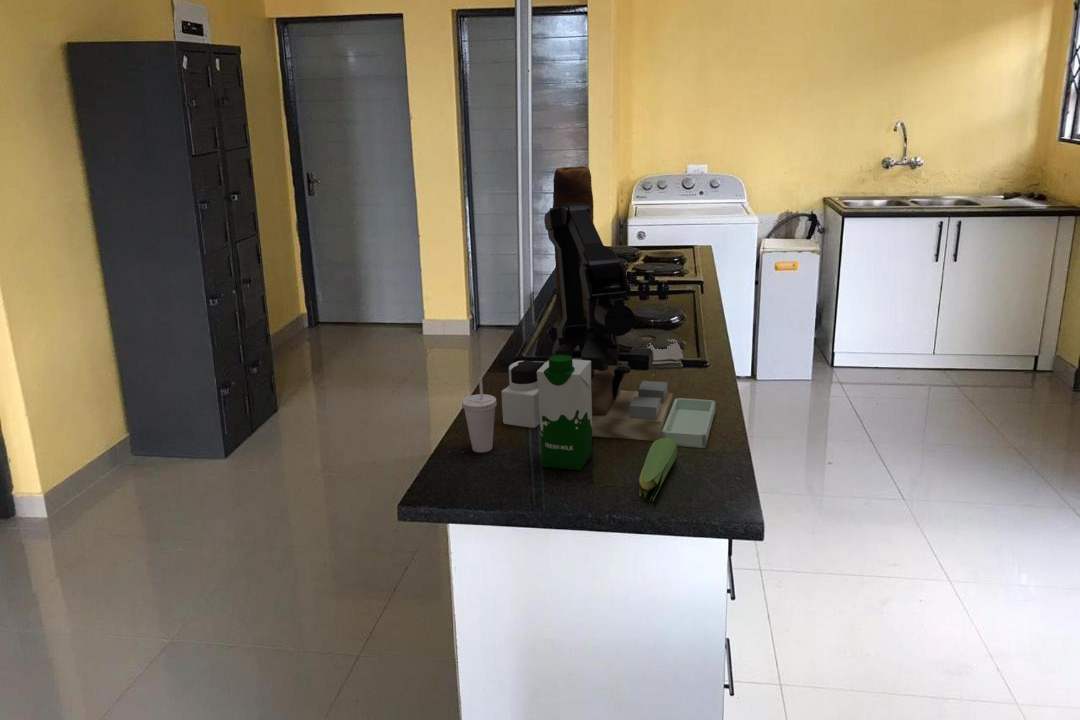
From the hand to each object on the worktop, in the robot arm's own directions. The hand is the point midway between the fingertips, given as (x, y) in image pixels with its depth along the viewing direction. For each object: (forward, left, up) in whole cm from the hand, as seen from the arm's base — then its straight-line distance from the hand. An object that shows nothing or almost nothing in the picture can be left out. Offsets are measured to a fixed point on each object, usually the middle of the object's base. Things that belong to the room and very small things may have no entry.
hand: (603, 398), depth 170 cm
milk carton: (-3, -19, -5) cm, 20 cm away
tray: (+17, 0, -5) cm, 17 cm away
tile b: (+9, -4, -1) cm, 10 cm away
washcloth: (+3, +42, -6) cm, 43 cm away
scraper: (0, 0, 0) cm, 0 cm away
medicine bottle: (-16, -2, -5) cm, 16 cm away
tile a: (+9, +5, -1) cm, 10 cm away
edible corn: (+14, -23, -5) cm, 28 cm away
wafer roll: (-17, +45, -5) cm, 48 cm away
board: (+4, 0, -5) cm, 6 cm away
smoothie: (-20, -17, -5) cm, 26 cm away
